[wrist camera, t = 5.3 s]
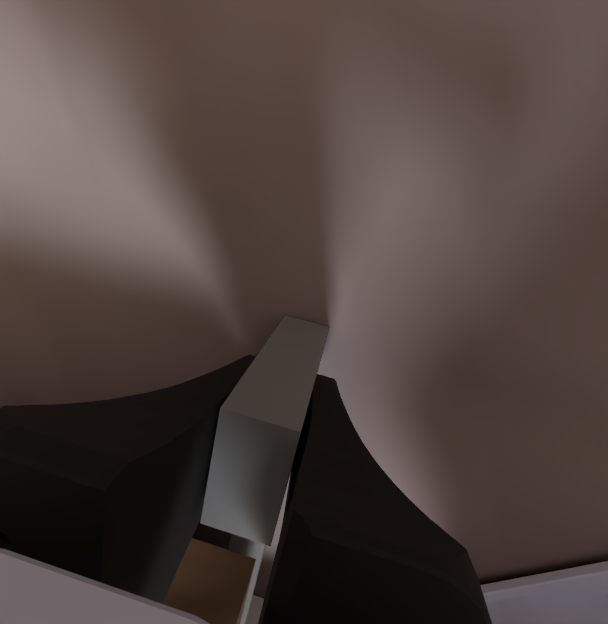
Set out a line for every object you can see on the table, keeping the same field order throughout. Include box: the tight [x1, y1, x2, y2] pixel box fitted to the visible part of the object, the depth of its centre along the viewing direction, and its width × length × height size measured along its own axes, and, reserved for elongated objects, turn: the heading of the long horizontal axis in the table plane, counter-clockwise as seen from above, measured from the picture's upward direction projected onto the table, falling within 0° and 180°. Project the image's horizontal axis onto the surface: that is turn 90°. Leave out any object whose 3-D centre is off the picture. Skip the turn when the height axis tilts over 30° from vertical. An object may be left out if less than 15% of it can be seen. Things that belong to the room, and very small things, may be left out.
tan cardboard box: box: [163, 538, 256, 624], centre depth 14 cm, size 17×12×7 cm
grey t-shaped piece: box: [200, 315, 329, 624], centre depth 12 cm, size 8×15×6 cm, turn 167°
